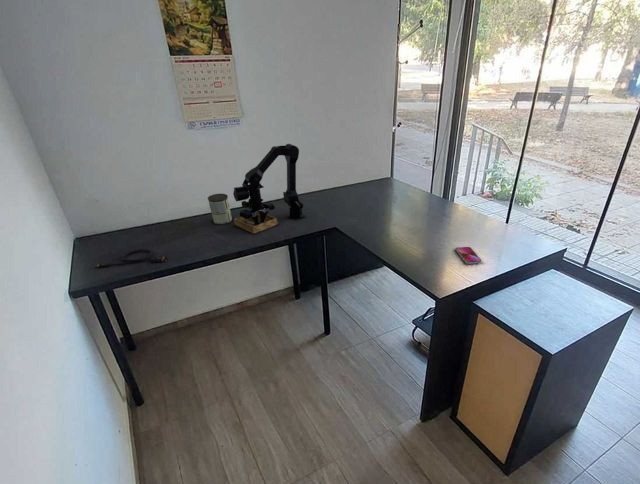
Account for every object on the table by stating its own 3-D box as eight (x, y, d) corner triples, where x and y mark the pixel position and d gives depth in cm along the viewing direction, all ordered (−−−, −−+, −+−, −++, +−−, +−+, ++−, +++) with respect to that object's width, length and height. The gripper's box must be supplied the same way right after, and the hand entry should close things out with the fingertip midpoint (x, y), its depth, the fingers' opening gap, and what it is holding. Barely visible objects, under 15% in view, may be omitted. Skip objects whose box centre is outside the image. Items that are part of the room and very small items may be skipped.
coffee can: (210, 220, 216) (205, 195, 208) (228, 216, 221) (224, 192, 213) (216, 226, 209) (210, 201, 201) (234, 221, 213) (230, 197, 206)
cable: (108, 254, 182) (107, 251, 181) (170, 248, 186) (169, 246, 185) (97, 268, 171) (95, 265, 170) (163, 262, 175) (162, 259, 174)
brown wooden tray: (258, 217, 219) (257, 210, 217) (277, 225, 209) (276, 218, 207) (234, 225, 209) (233, 218, 207) (254, 234, 199) (252, 227, 197)
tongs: (244, 222, 211) (243, 218, 210) (252, 219, 214) (251, 215, 213) (259, 229, 203) (258, 224, 202) (267, 226, 207) (267, 221, 205)
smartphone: (469, 246, 183) (482, 261, 170) (469, 248, 183) (482, 263, 171) (454, 247, 182) (466, 262, 169) (454, 249, 183) (466, 264, 170)
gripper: (260, 189, 209) (264, 216, 217) (230, 198, 197) (236, 226, 205) (273, 193, 202) (277, 221, 211) (243, 203, 191) (248, 232, 199)
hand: (259, 225), depth 207 cm, fingers closed on tongs, 3 cm apart
